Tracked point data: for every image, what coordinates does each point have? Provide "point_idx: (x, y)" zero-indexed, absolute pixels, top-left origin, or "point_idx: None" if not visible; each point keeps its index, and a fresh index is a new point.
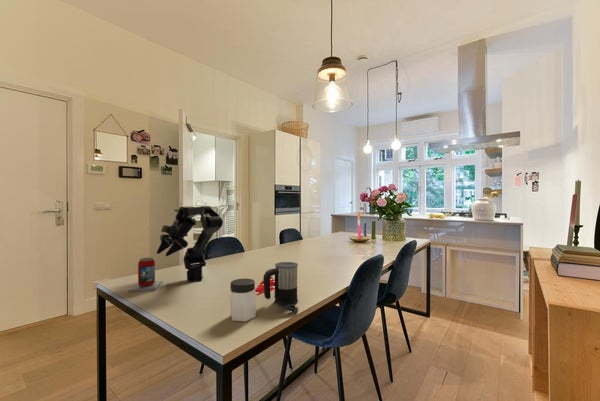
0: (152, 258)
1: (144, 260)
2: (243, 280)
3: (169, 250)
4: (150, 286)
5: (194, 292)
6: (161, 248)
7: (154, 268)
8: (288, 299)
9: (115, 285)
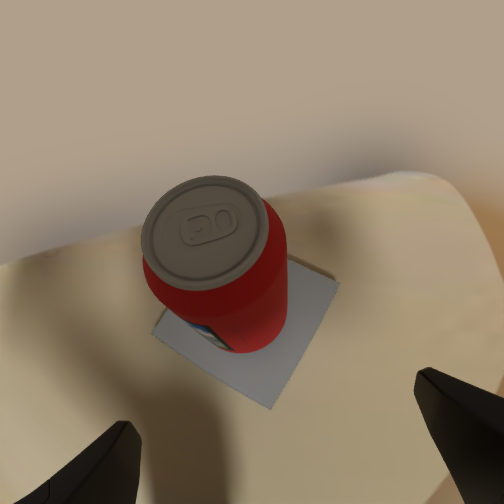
0: (193, 282)
1: (157, 205)
2: None
3: (67, 468)
4: None
5: (33, 429)
6: (466, 441)
7: (187, 324)
8: None
9: (378, 205)
